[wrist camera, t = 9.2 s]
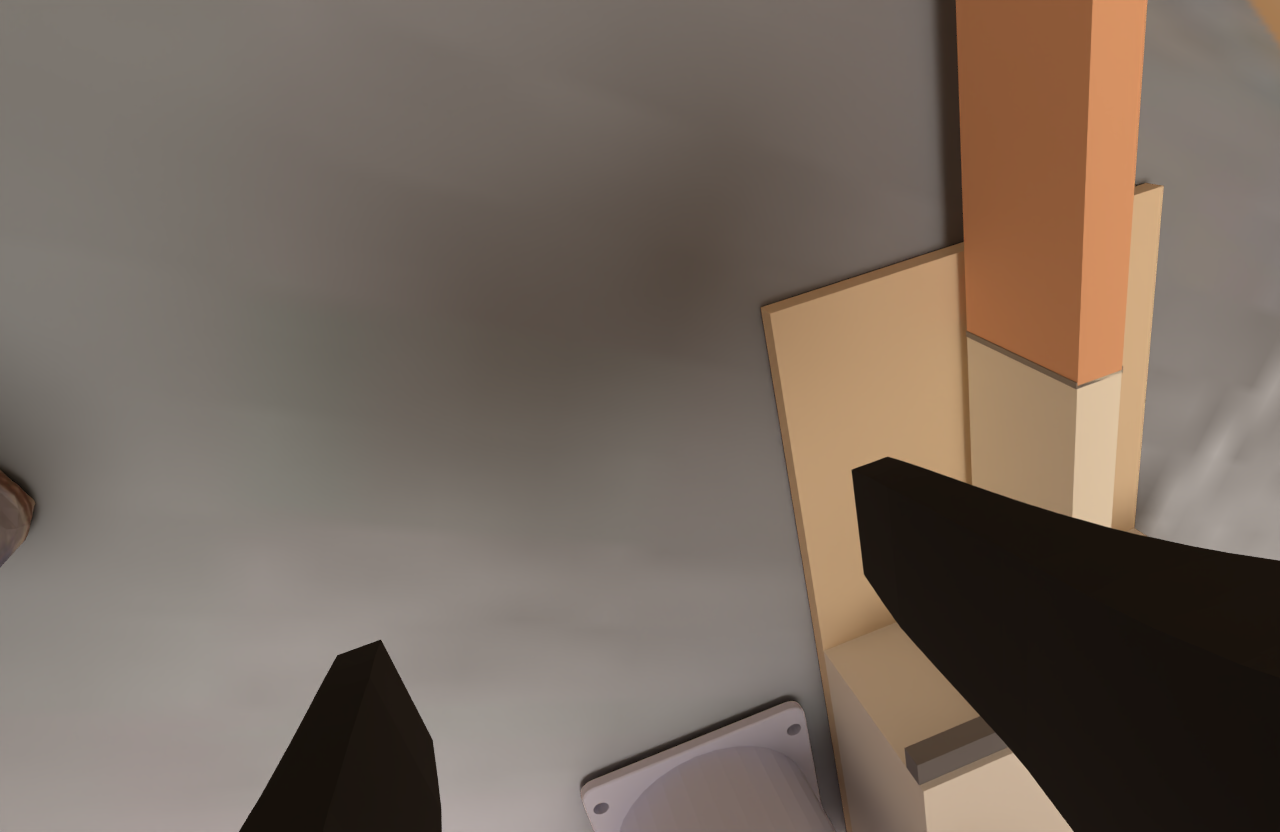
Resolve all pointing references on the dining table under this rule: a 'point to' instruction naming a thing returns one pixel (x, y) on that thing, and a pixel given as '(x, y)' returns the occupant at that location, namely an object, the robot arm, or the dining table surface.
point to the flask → (13, 516)
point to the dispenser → (829, 537)
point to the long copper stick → (1048, 240)
